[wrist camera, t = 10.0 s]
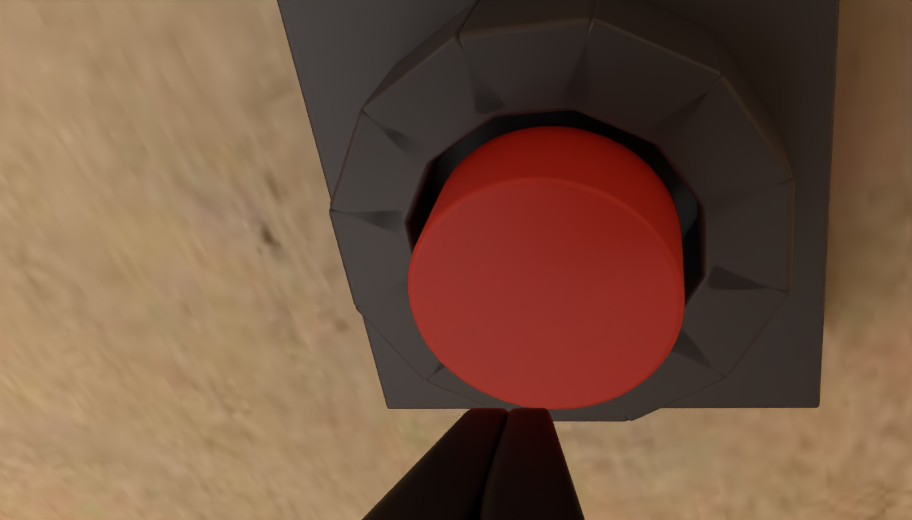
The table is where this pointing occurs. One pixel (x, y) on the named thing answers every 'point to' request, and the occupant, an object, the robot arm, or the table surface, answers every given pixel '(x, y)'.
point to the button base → (608, 114)
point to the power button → (550, 269)
